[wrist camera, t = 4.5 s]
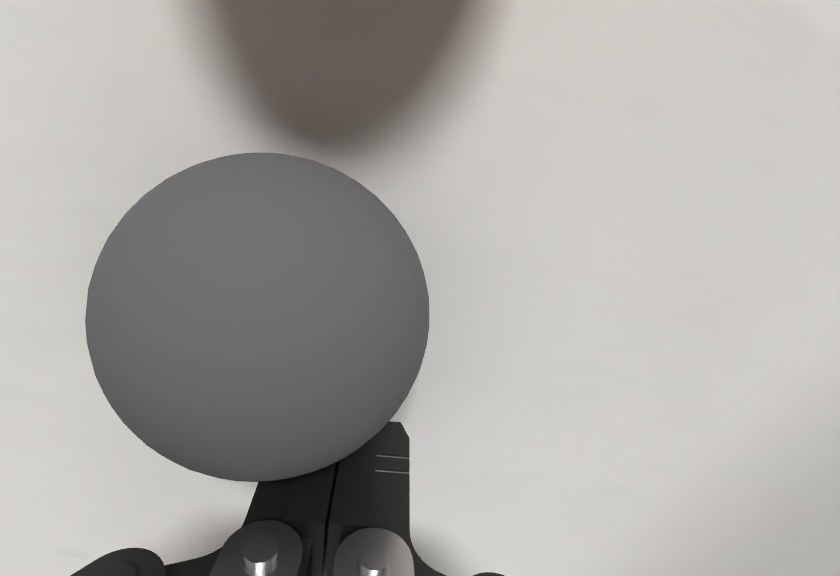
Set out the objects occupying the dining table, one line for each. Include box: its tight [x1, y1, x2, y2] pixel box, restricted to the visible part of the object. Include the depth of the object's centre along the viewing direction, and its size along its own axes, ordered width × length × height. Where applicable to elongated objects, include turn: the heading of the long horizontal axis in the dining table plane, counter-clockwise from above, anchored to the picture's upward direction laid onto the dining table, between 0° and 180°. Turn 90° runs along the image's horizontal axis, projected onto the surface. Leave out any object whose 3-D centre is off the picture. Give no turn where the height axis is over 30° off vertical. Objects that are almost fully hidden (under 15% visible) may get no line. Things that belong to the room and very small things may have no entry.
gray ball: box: [85, 153, 429, 482], centre depth 9 cm, size 6×6×6 cm
